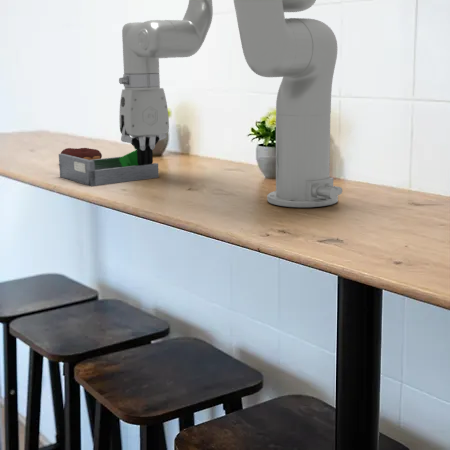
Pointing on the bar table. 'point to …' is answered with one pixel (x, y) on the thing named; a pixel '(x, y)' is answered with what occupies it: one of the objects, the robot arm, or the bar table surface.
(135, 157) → the green stepped block
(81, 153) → the donut
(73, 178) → the grey tray
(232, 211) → the bar table surface
